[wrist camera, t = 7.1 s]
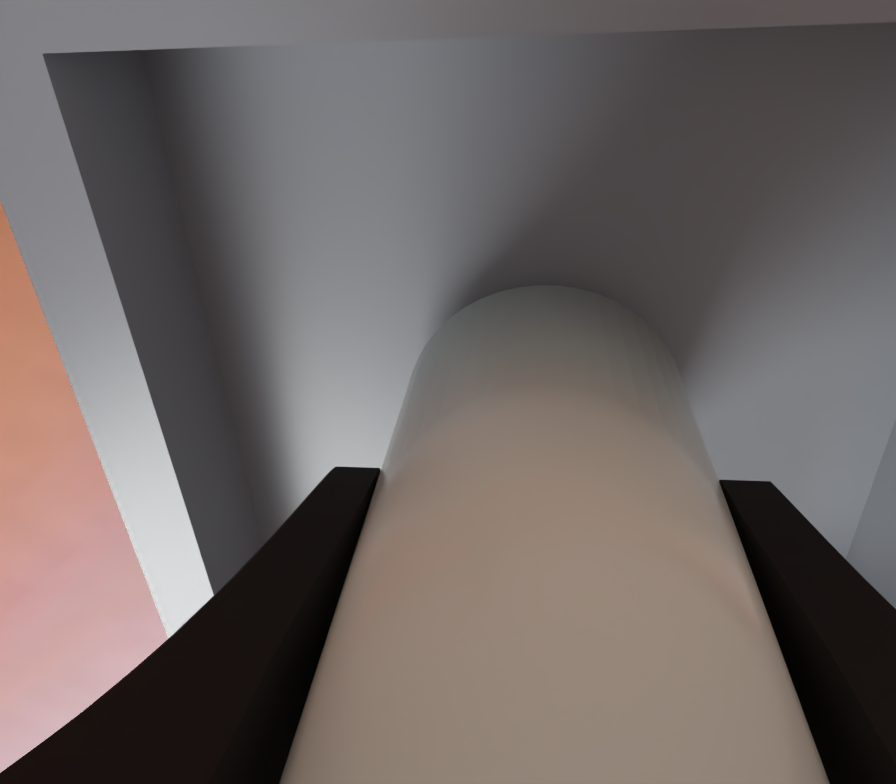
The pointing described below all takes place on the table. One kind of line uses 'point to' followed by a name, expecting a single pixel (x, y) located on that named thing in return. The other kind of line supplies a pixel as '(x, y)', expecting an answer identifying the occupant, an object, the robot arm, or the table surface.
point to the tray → (449, 233)
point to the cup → (550, 577)
